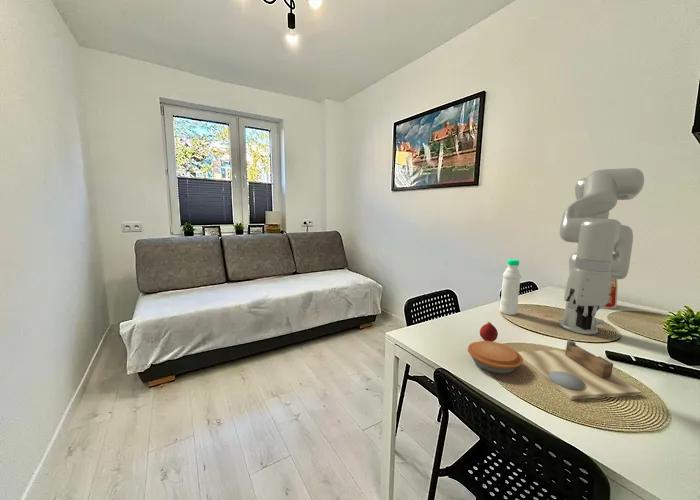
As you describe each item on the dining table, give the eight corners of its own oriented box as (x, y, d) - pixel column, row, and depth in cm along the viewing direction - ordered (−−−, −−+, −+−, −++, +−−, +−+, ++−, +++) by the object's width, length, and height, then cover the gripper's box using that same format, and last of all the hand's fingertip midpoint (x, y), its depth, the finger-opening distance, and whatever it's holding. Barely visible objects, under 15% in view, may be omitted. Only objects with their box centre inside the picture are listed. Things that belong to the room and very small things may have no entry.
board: (569, 352, 97) (570, 349, 97) (640, 395, 76) (641, 391, 75) (514, 355, 95) (514, 351, 95) (570, 400, 74) (571, 395, 74)
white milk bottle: (516, 316, 128) (522, 262, 124) (498, 313, 132) (503, 260, 128) (516, 311, 134) (522, 259, 130) (500, 308, 138) (505, 257, 133)
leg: (563, 353, 94) (565, 340, 93) (569, 353, 94) (571, 340, 93) (602, 377, 81) (604, 363, 80) (610, 377, 81) (612, 362, 80)
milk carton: (597, 307, 140) (603, 267, 137) (585, 301, 149) (591, 263, 146) (618, 309, 139) (625, 268, 135) (605, 302, 148) (611, 264, 144)
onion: (493, 339, 106) (494, 319, 105) (499, 347, 101) (501, 325, 99) (476, 338, 107) (478, 318, 106) (482, 346, 101) (484, 324, 100)
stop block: (598, 368, 86) (599, 356, 86) (611, 376, 82) (613, 363, 82) (593, 368, 86) (595, 356, 85) (606, 376, 82) (608, 364, 81)
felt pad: (567, 371, 84) (567, 370, 84) (592, 389, 76) (592, 387, 76) (542, 373, 83) (542, 371, 83) (565, 390, 75) (565, 389, 75)
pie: (457, 360, 92) (458, 346, 91) (482, 346, 101) (483, 333, 100) (506, 385, 80) (508, 368, 79) (530, 366, 89) (532, 351, 88)
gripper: (603, 261, 83) (593, 321, 86) (556, 262, 82) (548, 323, 85) (631, 267, 76) (619, 332, 79) (580, 268, 74) (570, 335, 77)
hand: (583, 327), depth 82 cm, fingers closed
